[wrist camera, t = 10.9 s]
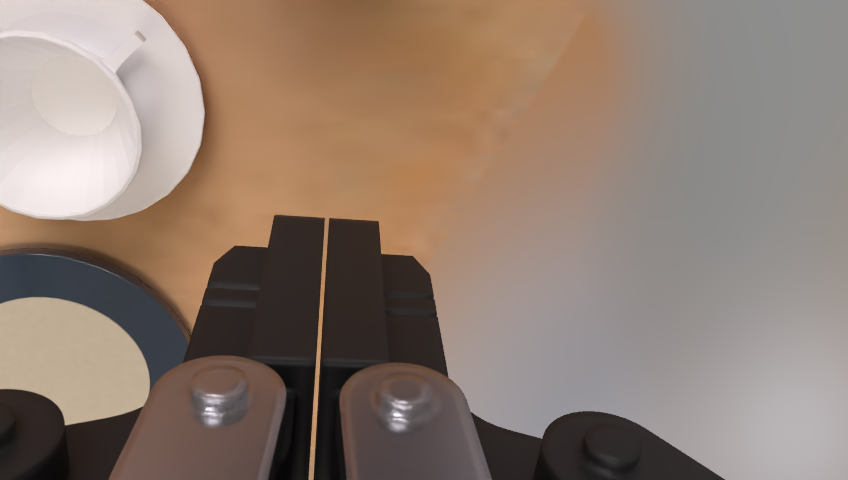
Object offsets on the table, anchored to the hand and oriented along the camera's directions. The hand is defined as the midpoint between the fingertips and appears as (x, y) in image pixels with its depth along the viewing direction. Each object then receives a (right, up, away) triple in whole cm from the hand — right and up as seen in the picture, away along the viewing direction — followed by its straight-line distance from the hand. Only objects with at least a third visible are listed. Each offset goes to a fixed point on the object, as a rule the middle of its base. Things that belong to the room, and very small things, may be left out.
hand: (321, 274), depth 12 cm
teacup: (-15, +7, +25) cm, 30 cm away
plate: (-19, -6, +32) cm, 38 cm away
